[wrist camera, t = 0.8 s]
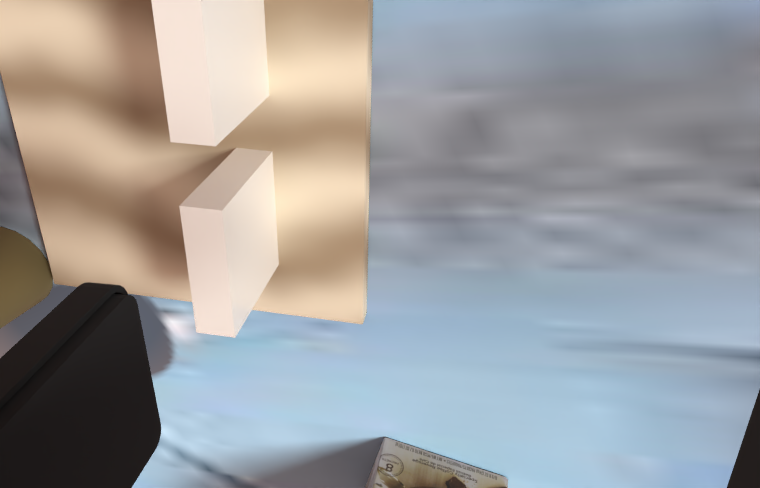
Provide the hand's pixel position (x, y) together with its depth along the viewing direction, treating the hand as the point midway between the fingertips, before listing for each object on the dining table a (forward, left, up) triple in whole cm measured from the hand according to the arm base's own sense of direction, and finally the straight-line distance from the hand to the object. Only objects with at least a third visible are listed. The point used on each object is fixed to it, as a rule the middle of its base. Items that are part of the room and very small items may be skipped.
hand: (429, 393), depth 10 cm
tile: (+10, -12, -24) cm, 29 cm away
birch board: (+5, -16, -25) cm, 30 cm away
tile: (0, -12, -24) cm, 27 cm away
